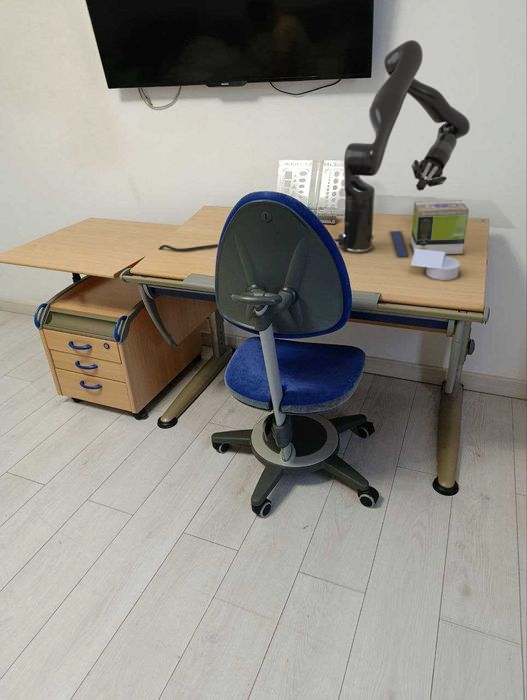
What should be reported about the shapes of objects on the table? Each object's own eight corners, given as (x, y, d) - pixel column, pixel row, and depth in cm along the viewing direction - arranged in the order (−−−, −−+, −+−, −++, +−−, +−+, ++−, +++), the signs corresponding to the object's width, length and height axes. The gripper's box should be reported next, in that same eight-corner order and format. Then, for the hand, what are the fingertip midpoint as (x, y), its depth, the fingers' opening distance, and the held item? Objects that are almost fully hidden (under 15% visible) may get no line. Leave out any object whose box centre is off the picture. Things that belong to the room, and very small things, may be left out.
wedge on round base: (409, 275, 150) (455, 281, 145) (412, 254, 146) (459, 259, 141) (415, 263, 156) (459, 269, 151) (418, 243, 153) (463, 247, 148)
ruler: (398, 256, 162) (398, 255, 161) (391, 232, 180) (391, 231, 180) (407, 256, 161) (407, 255, 161) (399, 232, 179) (399, 231, 179)
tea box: (456, 243, 168) (463, 199, 160) (462, 255, 160) (470, 209, 152) (409, 244, 170) (414, 200, 162) (413, 255, 162) (418, 210, 153)
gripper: (448, 174, 177) (431, 205, 170) (416, 155, 178) (397, 185, 171) (460, 158, 170) (442, 190, 163) (426, 139, 171) (407, 170, 164)
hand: (419, 188), depth 167 cm, fingers closed
